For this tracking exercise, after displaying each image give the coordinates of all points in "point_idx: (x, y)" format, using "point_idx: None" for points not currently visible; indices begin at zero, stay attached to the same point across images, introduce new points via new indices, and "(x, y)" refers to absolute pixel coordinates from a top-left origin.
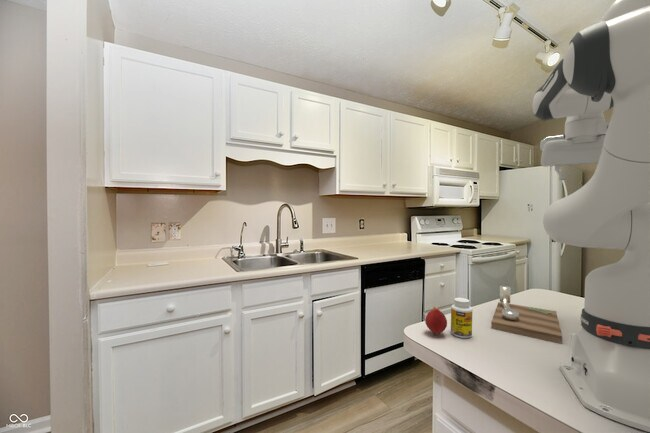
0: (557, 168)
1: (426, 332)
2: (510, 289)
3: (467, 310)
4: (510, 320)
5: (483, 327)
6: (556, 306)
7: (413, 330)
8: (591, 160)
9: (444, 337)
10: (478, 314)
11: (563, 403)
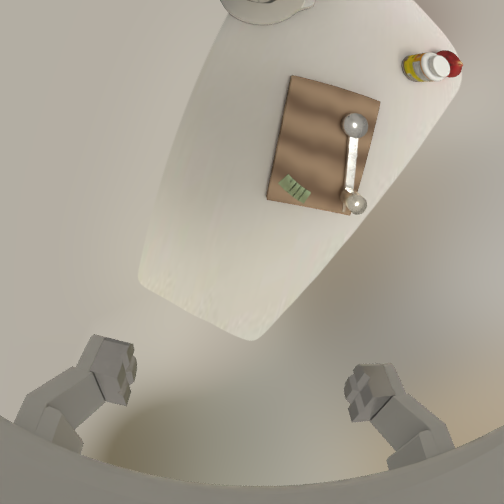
0: (436, 428)
1: None
2: (349, 201)
3: (428, 53)
4: None
5: (385, 102)
6: (248, 258)
7: None
8: (184, 497)
9: None
10: (384, 159)
11: None
